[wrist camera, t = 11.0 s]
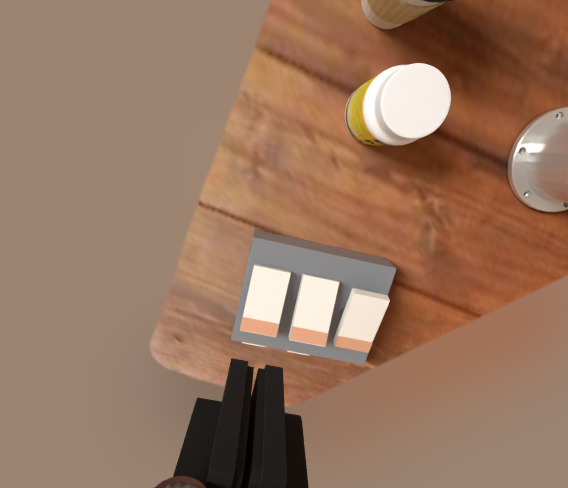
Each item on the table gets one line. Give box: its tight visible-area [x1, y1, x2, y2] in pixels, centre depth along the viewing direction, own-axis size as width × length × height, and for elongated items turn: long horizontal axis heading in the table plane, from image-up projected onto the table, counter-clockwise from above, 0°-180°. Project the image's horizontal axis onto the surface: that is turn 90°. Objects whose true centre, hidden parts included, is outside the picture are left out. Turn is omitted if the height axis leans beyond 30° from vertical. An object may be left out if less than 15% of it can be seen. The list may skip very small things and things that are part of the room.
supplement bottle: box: [345, 63, 451, 146], centre depth 36 cm, size 7×7×13 cm
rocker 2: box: [289, 274, 339, 347], centre depth 43 cm, size 4×8×1 cm, turn 167°
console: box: [231, 230, 397, 365], centre depth 46 cm, size 18×14×5 cm
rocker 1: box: [240, 264, 291, 337], centre depth 42 cm, size 4×8×1 cm, turn 167°
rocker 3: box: [333, 288, 390, 353], centre depth 43 cm, size 4×8×1 cm, turn 167°
